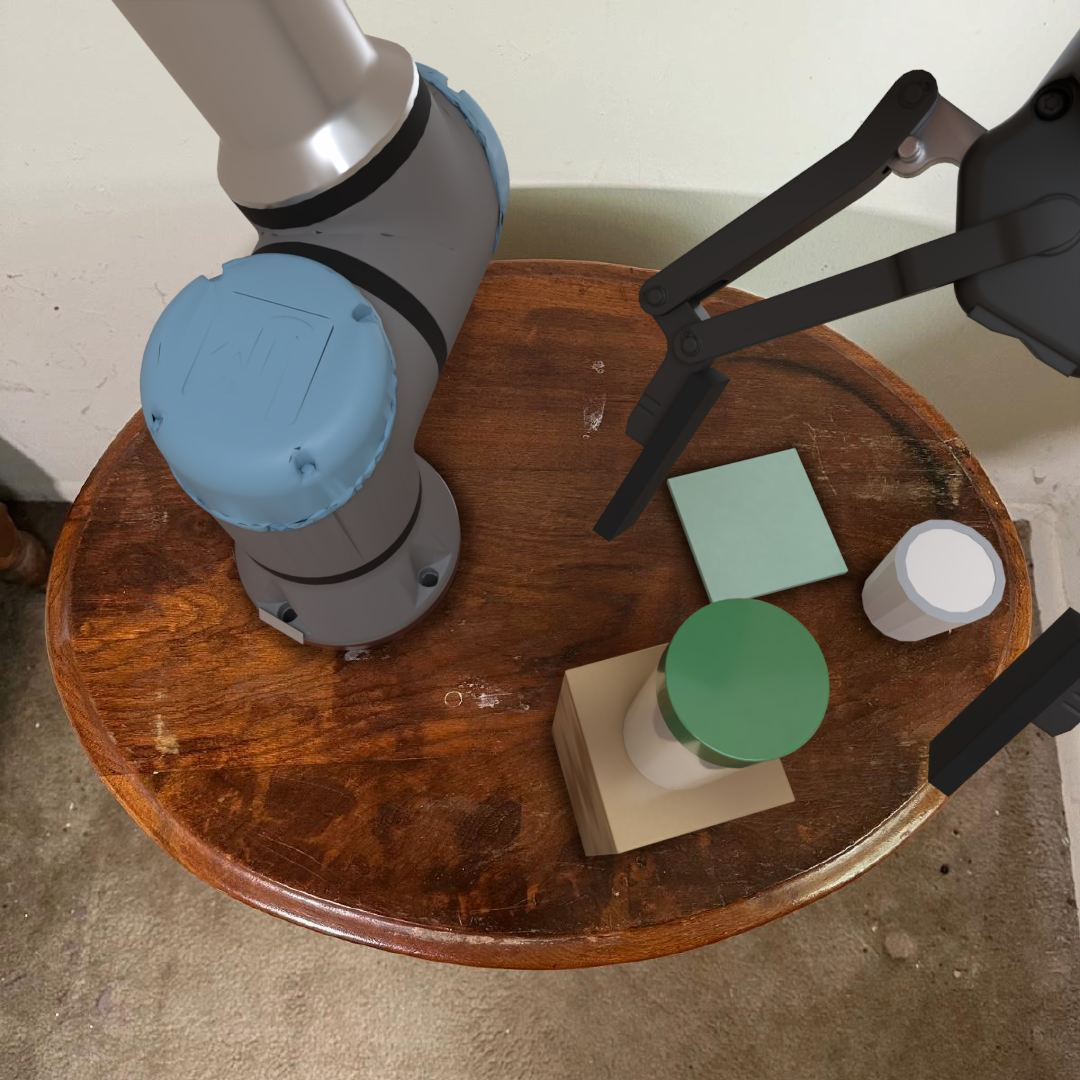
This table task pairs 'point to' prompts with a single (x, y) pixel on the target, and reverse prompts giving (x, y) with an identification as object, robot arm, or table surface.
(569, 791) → the plinth
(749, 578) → the mat
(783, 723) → the cylinder
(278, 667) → the table surface
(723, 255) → the robot arm
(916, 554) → the grey white cylinder
